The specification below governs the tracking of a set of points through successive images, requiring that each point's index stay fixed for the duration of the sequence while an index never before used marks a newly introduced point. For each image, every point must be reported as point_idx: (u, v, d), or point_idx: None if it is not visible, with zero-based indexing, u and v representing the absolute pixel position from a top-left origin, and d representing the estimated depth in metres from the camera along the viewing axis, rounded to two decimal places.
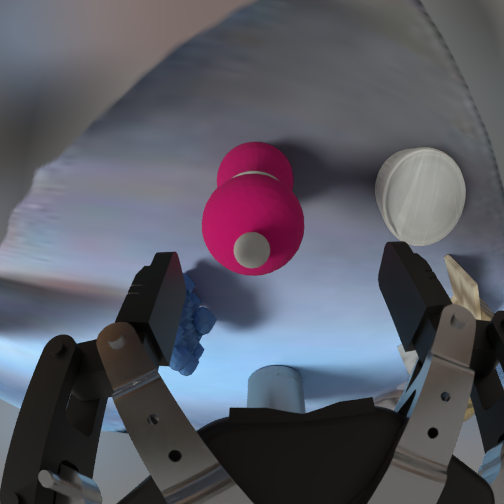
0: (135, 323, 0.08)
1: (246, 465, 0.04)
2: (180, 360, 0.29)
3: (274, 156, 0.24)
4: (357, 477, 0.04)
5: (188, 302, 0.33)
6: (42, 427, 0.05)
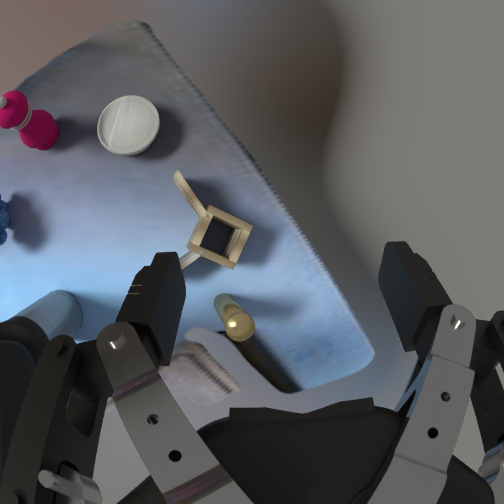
0: (135, 323, 0.08)
1: (246, 465, 0.04)
2: None
3: (42, 111, 0.38)
4: (357, 477, 0.04)
5: None
6: (42, 427, 0.05)
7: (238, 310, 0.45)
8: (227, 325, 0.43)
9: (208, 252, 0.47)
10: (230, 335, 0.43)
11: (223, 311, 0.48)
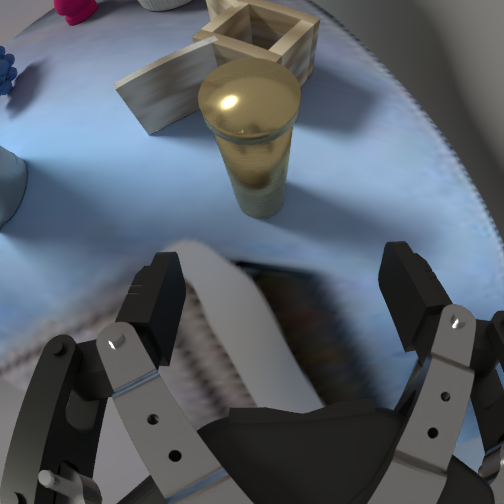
0: (135, 323, 0.08)
1: (246, 465, 0.04)
2: None
3: None
4: (357, 477, 0.04)
5: None
6: (42, 427, 0.05)
7: None
8: (206, 81, 0.12)
9: (227, 38, 0.19)
10: (208, 109, 0.11)
11: None
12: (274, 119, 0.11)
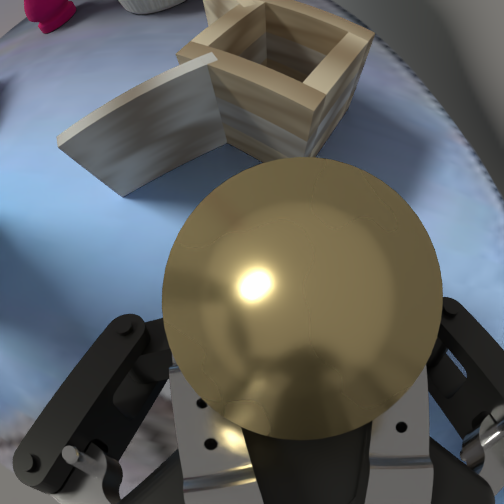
0: None
1: None
2: None
3: None
4: (340, 490, 0.04)
5: None
6: (83, 403, 0.05)
7: None
8: (184, 245, 0.04)
9: (232, 58, 0.12)
10: (193, 358, 0.04)
11: None
12: (375, 398, 0.04)
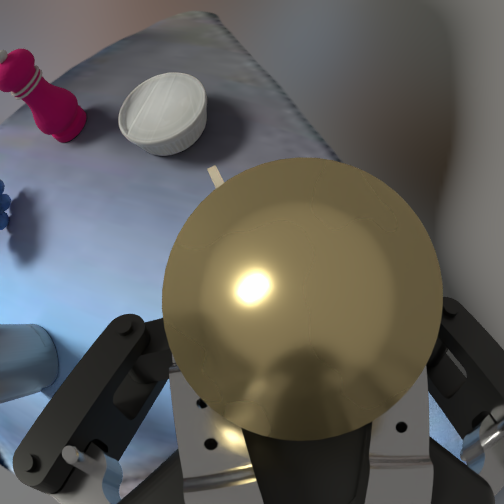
0: None
1: None
2: None
3: (63, 88, 0.31)
4: (339, 490, 0.04)
5: None
6: (83, 403, 0.05)
7: None
8: (184, 245, 0.04)
9: None
10: (193, 358, 0.04)
11: None
12: (375, 399, 0.04)
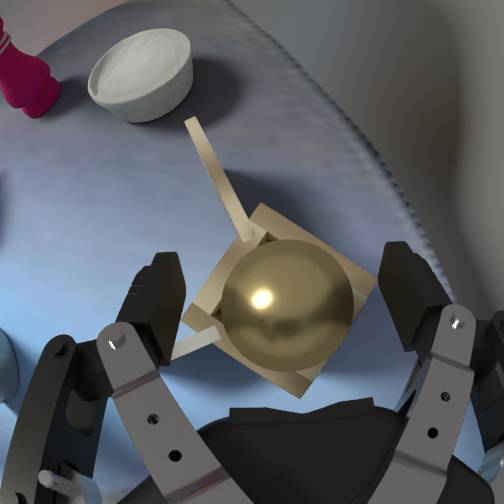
0: (135, 323, 0.08)
1: (246, 465, 0.04)
2: None
3: (35, 57, 0.23)
4: (357, 477, 0.04)
5: None
6: (42, 427, 0.05)
7: None
8: (231, 282, 0.10)
9: None
10: (235, 332, 0.09)
11: None
12: (318, 353, 0.09)
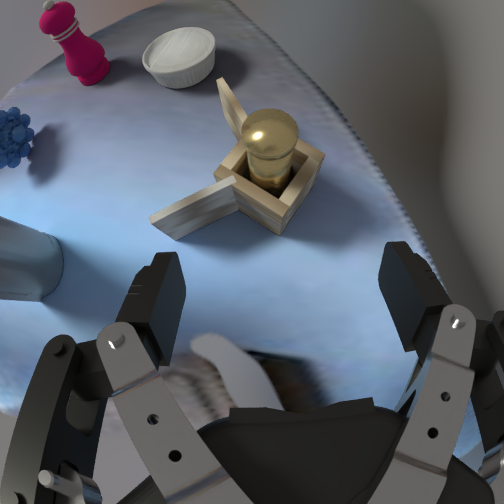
0: (135, 323, 0.08)
1: (246, 465, 0.04)
2: None
3: (93, 40, 0.35)
4: (357, 477, 0.04)
5: (21, 124, 0.34)
6: (42, 427, 0.05)
7: None
8: (245, 122, 0.22)
9: (244, 181, 0.27)
10: (247, 139, 0.22)
11: None
12: (283, 147, 0.21)
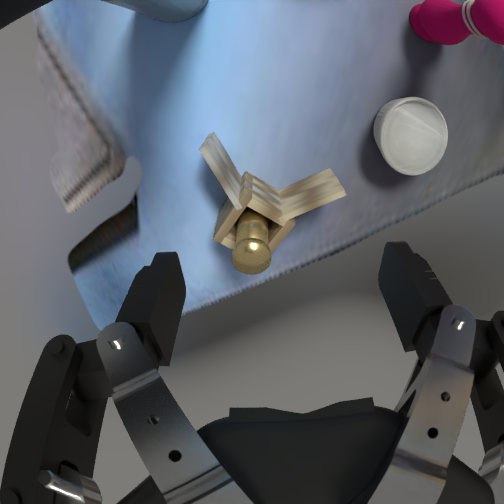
0: (135, 323, 0.08)
1: (246, 465, 0.04)
2: None
3: (465, 38, 0.22)
4: (357, 477, 0.04)
5: None
6: (42, 427, 0.05)
7: None
8: (258, 245, 0.33)
9: (237, 215, 0.37)
10: (243, 246, 0.33)
11: (262, 224, 0.37)
12: (237, 266, 0.34)
